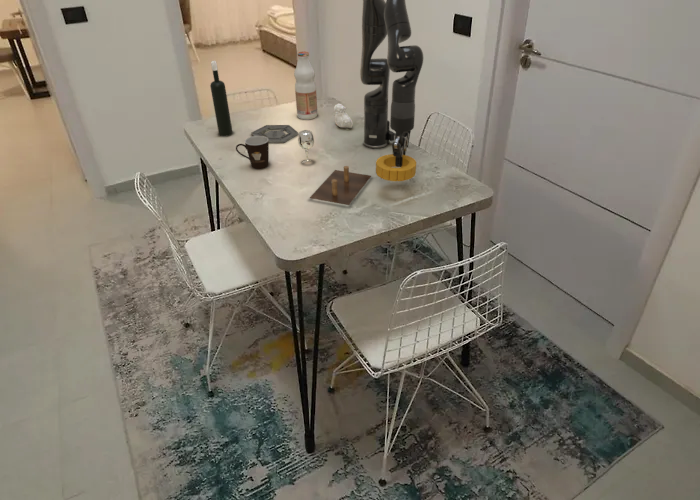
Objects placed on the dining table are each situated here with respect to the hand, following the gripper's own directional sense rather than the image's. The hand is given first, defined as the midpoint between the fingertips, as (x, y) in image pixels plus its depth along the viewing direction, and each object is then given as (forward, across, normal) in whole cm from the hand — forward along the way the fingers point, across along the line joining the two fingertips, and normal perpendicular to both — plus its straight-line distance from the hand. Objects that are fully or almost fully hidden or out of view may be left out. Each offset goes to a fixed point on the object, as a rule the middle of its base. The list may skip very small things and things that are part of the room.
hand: (400, 164), depth 164 cm
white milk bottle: (+9, +52, +60) cm, 80 cm away
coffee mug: (+9, -1, +56) cm, 56 cm away
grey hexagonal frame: (+9, +27, +63) cm, 69 cm away
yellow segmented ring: (+1, -5, 0) cm, 5 cm away
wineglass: (+9, +7, +38) cm, 40 cm away
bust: (+9, +46, +40) cm, 61 cm away
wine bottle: (+9, +21, +84) cm, 87 cm away
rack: (+9, -8, +18) cm, 22 cm away
